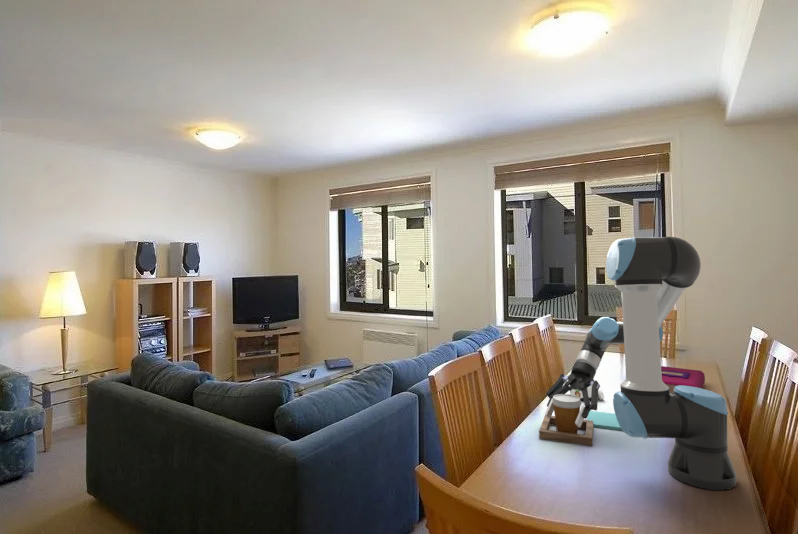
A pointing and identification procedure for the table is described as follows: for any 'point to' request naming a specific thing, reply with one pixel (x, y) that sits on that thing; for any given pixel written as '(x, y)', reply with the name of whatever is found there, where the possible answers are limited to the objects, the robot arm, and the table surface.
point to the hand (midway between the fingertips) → (561, 420)
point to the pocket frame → (566, 433)
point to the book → (682, 377)
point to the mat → (604, 420)
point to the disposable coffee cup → (566, 412)
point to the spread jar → (589, 389)
